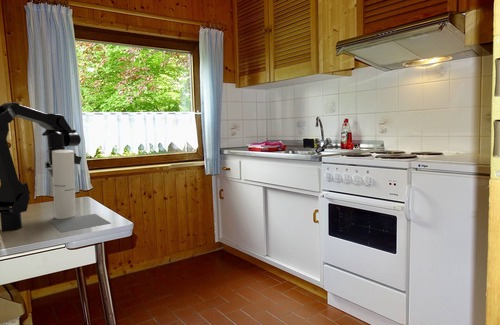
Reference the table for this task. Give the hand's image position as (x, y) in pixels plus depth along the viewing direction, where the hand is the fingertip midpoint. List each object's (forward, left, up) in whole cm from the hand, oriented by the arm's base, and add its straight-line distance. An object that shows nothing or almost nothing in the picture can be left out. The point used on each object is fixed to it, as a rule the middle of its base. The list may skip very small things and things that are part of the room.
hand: (59, 187), depth 139 cm
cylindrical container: (-5, -3, -11) cm, 12 cm away
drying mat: (-16, -13, -11) cm, 24 cm away
